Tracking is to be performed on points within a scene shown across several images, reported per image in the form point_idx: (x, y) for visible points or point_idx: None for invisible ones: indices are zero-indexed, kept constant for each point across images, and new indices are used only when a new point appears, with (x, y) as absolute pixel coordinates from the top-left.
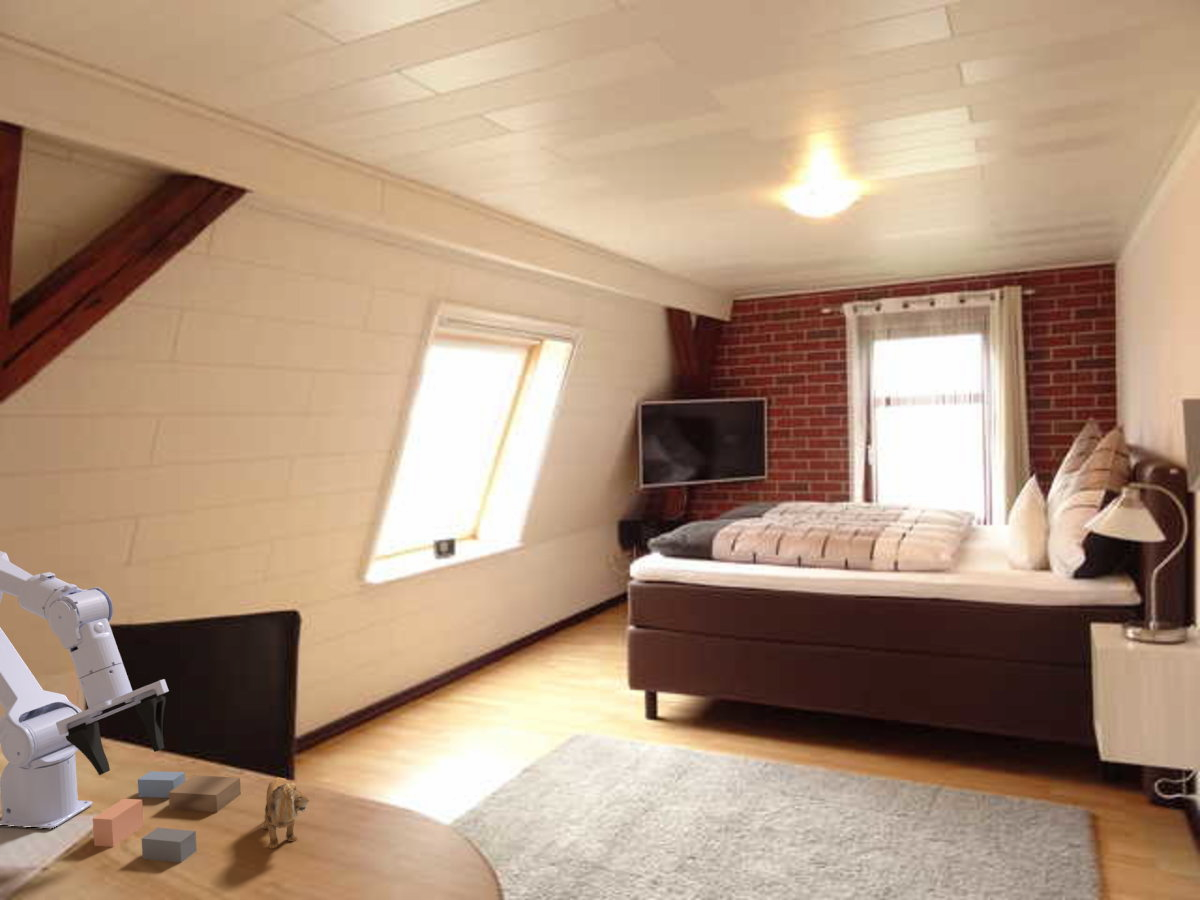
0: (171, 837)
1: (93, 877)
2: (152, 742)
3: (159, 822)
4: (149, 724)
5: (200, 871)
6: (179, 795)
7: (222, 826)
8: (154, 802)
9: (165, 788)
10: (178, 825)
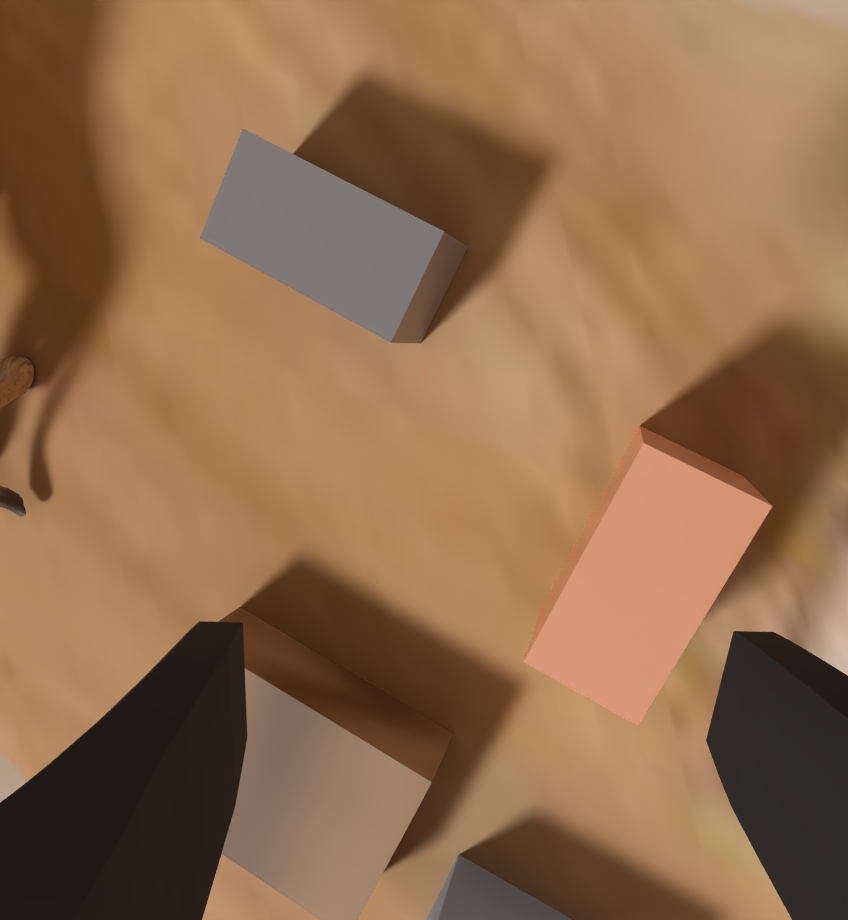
0: (297, 198)
1: (664, 115)
2: (196, 665)
3: (471, 610)
4: (52, 810)
5: (198, 47)
6: (379, 740)
7: (193, 455)
8: (542, 849)
9: (489, 910)
10: (378, 541)
